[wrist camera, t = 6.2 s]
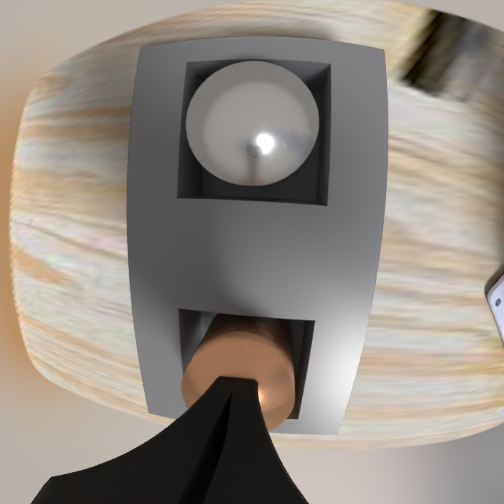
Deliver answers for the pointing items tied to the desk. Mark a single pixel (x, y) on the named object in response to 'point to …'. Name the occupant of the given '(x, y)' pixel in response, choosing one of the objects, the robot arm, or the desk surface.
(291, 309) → the block
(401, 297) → the desk surface
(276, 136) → the aluminium plunger
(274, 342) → the copper plunger
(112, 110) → the desk surface
